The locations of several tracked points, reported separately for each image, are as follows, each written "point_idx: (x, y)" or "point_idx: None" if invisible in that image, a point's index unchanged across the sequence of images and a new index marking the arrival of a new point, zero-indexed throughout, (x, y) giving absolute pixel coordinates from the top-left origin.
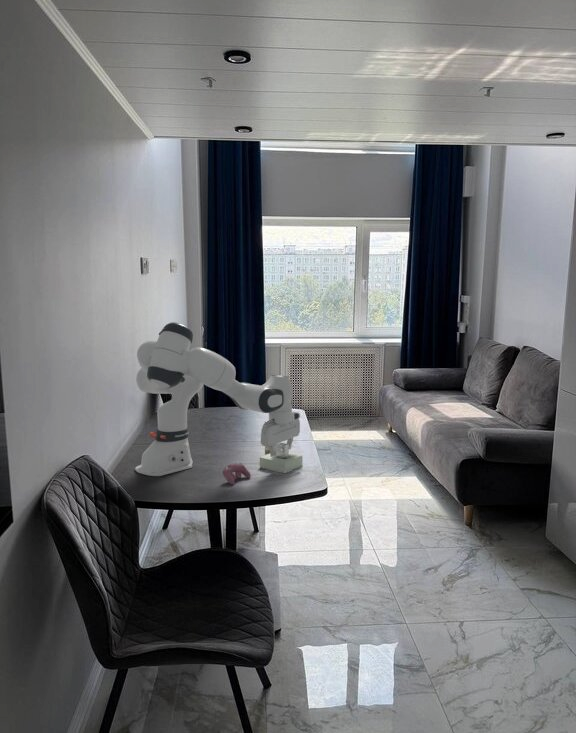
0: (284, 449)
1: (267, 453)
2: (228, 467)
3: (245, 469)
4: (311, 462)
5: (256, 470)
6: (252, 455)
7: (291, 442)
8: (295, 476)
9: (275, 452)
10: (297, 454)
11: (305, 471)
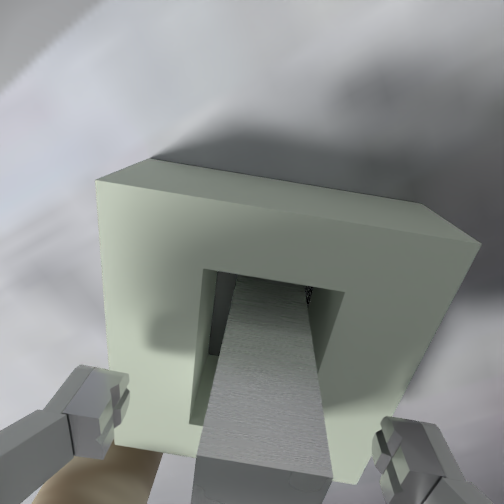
0: (321, 408)
1: (158, 464)
2: None
3: None
4: (17, 119)
5: (405, 402)
6: (158, 495)
7: (9, 443)
8: (497, 55)
9: (416, 450)
10: (101, 250)
11: (296, 30)
